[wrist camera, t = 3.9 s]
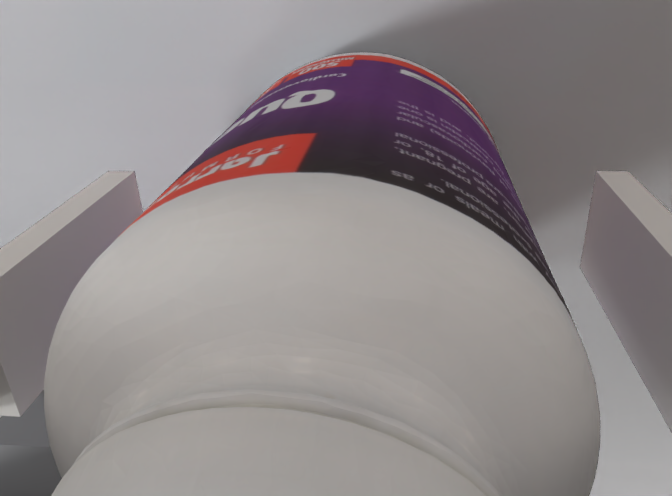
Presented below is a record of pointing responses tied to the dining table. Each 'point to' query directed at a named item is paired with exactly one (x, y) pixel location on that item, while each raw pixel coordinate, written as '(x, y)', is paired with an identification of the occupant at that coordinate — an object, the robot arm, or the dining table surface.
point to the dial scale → (27, 454)
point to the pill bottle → (327, 314)
